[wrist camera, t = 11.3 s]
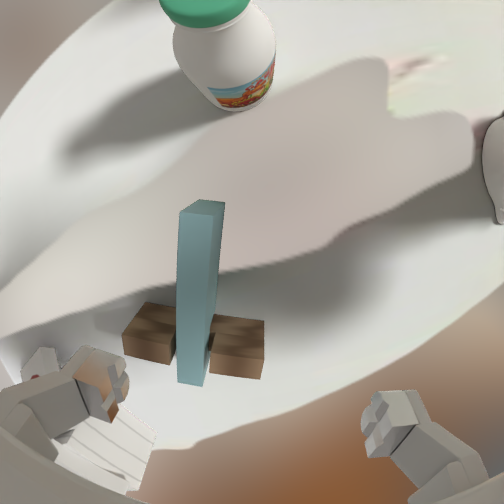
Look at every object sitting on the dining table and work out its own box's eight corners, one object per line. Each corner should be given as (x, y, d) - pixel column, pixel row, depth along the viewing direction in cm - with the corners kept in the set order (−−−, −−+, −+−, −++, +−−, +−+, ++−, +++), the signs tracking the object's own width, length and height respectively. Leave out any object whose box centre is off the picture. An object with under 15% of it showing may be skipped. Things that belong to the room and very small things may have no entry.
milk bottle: (199, 111, 29) (112, 52, 10) (207, 50, 26) (146, -52, 7) (269, 115, 29) (279, 46, 10) (275, 54, 26) (288, -60, 7)
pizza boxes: (54, 330, 39) (-4, 393, 22) (171, 436, 46) (150, 509, 29) (26, 364, 44) (-16, 413, 26) (122, 449, 50) (100, 505, 33)
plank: (225, 202, 32) (213, 215, 24) (212, 347, 38) (202, 386, 30) (199, 199, 32) (179, 212, 24) (191, 344, 38) (177, 382, 30)
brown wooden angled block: (264, 320, 36) (264, 359, 29) (260, 339, 37) (259, 379, 30) (145, 302, 36) (121, 334, 29) (146, 320, 37) (124, 354, 30)
